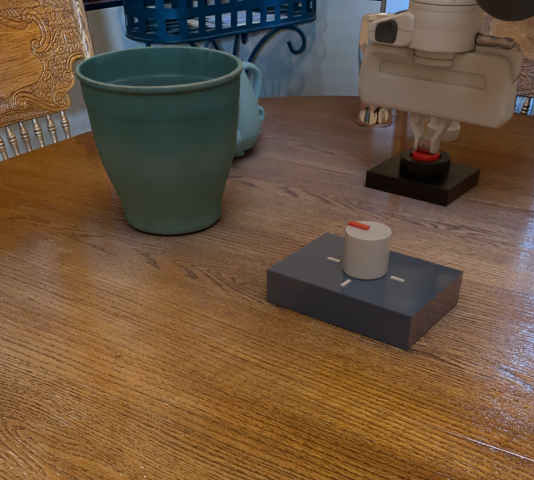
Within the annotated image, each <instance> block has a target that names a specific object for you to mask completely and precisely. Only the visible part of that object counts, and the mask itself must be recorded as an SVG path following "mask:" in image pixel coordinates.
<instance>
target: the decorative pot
mask: <svg viewBox="0 0 534 480" xmlns="http://www.w3.org/2000/svg"><path fill="white" fill-rule="evenodd" d="M205 48H206V49H211V48H209V47H205ZM242 64H243V70H242V73H241V76H240V96H239V106H238V128H237V140H236V147H235V153H234V157H233V158H237V157H243V156H244V155H245V151H247V150H249V149H251V148H253V147H254V145H255V143H256V142H257V140H258V138H259V137H260V134H261V130H262V123H263V121H264V120H265V119H266V118H265V116H266V112H265V109H264V107H263V106H261V105H260V104H259V99H260V96H261V91H262V88H263V74H262V72H261V70H260V68H259V67H258V66H257V65H256V64H254V63H253V62H250V61H242ZM247 70H249V71H251V72H252V75H253V83H252V84H251V81H250V79H249V77H248V74H247V73H246V71H247Z"/></svg>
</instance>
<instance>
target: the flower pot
mask: <svg viewBox="0 0 534 480" xmlns="http://www.w3.org/2000/svg"><path fill="white" fill-rule="evenodd" d="M206 48H207V47H197V46H180V45H158V46H157V45H156V46H140V47H131V48H130V47H129V48H124V49H117V50H112V51H107V52H103V53H99V54H96V55H91V56H89V57H88V58H85V59H84V60H82V61H80V62H79V63H77V65H76V67H75V75H76V78H77V79H78V81H79V85H80V90H81V94H82V98H83V102H84V104H85V108H86V111H87V116H88V121H89V125H90V129H91V132H92V136H93V140H94V144H95V147H96V150H97V154H98V157H99V159H100V161H101V164H102V166H103V168H104V170H105V172H106V174H107V176H108V179H109V180H110V182H111V184H112V187H113V189H114V190H115V193H116V194H117V196H118V199H119V201H120V203H121V206H122V208H123V209H122V210H123V212H124V213H123V216H124V219H125V221H126V222H127V223H128V225H130V226H131V227H133V228H134V229H136V230H139V231H141V232H144V233H148V234H154V235H166V236H167V235H171V236H172V235H174V236H175V235H184V234H190V233H191V234H192V233H195V232H199V231H201V230H204V229H207V228H208V227H211V226H212V225H214V224H215V223H216V222H218V221H219V219H220V217H221V216H222V213H223V211H222V210H223V209H222V202H223V197H224V193H225V189H226V186H227V182H228V179H229V175H230V172H231V169H232V166H233V161H234V158H235V157H234V153H235V147H236V140H237V128H238V106H239V96H240V76H241V73H242V70H243V64H242V62H243V61H242V60H241V58H239V57H237V55H234V54H231V53H229V52H226V51H224V50H219V49H213V48H210V49H206Z"/></svg>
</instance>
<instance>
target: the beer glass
mask: <svg viewBox="0 0 534 480" xmlns="http://www.w3.org/2000/svg"><path fill="white" fill-rule="evenodd" d="M394 14H395V13H392V12H371V13H365V14H363V15H361V24H360V31H359V38H358V46H357V47H358V48H357V49H358V50H357V51H358V53H357V67H358V68H357V69H358V76H359V75H360V68H361V62H362V57H363V54H364V51H365V49H366V48H367V46H368V45H369V44H371V43H373V42H371V41H369V39H368V27H369V24H370V23H372V22H373V21H376V20H378V19H381V18H383V17H386V16H390V15H394ZM355 116H356V118H355V123H356V124H357V125H359V126H362V127H369V128H384V127H388V126H390V125H391V124H392V123H393V109H388V108H383V107H378V106H373V105H367V104H363V103H362V101H361V99H360V98H359V104H358V108H357V112H356V115H355Z"/></svg>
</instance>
